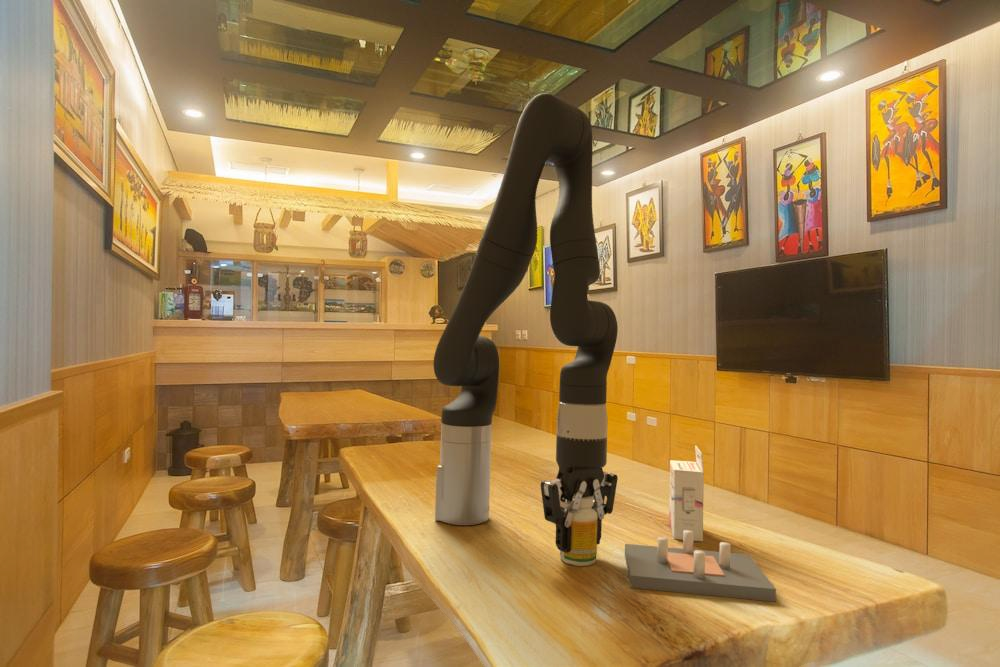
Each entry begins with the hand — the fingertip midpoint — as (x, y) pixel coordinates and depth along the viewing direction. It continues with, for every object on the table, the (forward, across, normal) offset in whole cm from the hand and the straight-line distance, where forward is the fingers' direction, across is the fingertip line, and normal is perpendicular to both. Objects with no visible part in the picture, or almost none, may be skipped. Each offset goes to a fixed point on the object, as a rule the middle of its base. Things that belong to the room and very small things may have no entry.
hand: (578, 546), depth 82 cm
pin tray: (+2, +10, -13) cm, 16 cm away
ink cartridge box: (+2, +25, -1) cm, 25 cm away
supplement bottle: (+2, 0, 0) cm, 2 cm away
